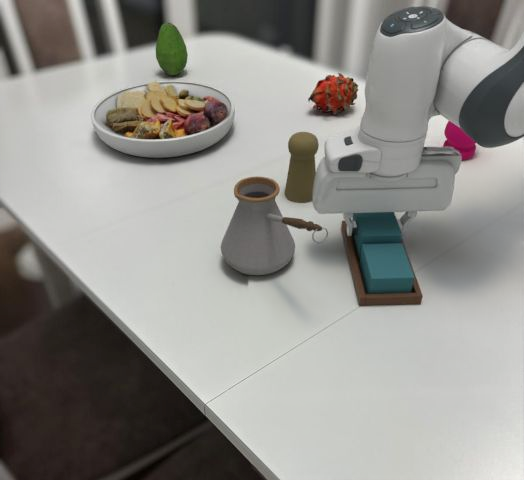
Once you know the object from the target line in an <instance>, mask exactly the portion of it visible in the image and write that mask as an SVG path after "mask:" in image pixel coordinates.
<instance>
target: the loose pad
mask: <svg viewBox="0 0 524 480" xmlns="http://www.w3.org/2000/svg"><path fill="white" fill-rule="evenodd" d="M351 220H352V221H357V224H358V232H357V236H353V237H354V240H355V244H356V248H357V252H358V256H359V258H360V255H361V249H362V244H393V243H401V239H402V240H403V234H402V233H401V230H400V227H399V225H398V222H397V220H398V219H397V217H396V213H395V212H376V213H353V218H351Z"/></svg>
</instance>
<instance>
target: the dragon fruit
mask: <svg viewBox="0 0 524 480" xmlns="http://www.w3.org/2000/svg"><path fill="white" fill-rule="evenodd" d="M337 75H338V76H336V75H334V74H333V75H331V74H328V75H326V76H325V78H323V79H320V80H318V81H317V83H316V86H315V88H314V89H313V91H312V92H311V94H310V95H309V97H308V99H307V100H308V103H310V101H311V102H312V103H314V105H313V106H312V109H313V110H315V111H316V112H323V113H327V112H330V111H332V115H333V116H337V114H338V113H342V112H344V111H345V110H346V109H349V108H351V107H350V106H355V105H356V102H355V100H357V99H358V91H359V84H357V82H356V81H354V78H353V77H349V76H348V77H347V76H345V77H344V75H343V74H342V73H341V72H338V73H337Z"/></svg>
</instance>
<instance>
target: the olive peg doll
mask: <svg viewBox="0 0 524 480" xmlns="http://www.w3.org/2000/svg"><path fill="white" fill-rule="evenodd" d="M287 148H288V153H289V154H290V158H289V164H288V170H287V176H286V182H285V187H284V197H285V198H286V199H287V200H289V201H290V202H293V203H297V204H304V203H310V202H313V201H312V193H313V185H314V179H315V175H316V170H317V167H316V154H317V153H318V151H319V140H318V137H317V136H316V134H313V133H311V132H309V131H299V132H298V131H297V132H295V133H293V134H292V135H291V136H290V137H289V139H288V142H287Z"/></svg>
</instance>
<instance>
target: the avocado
mask: <svg viewBox="0 0 524 480" xmlns="http://www.w3.org/2000/svg"><path fill="white" fill-rule="evenodd" d="M187 49H188V48H187V45H186V43H185V40H184V38H183V36H182V34H181V31H180V30H179V29H178V27H177V26H176V25H175V24H173V23H172V22H169V21H166V22H164V23H163V24H161V26H160V28H159V30H158V34H157V39H156V44H155V59H156V61H157V63H158V66H159V68H161V70H162V71H163V72H164V73H165V74H166V75H169V76H178V75H180V74H181V73H182V72H183V71H184V69H185V68H186V67H187V64H188V58H189V57H188V50H187Z"/></svg>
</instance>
